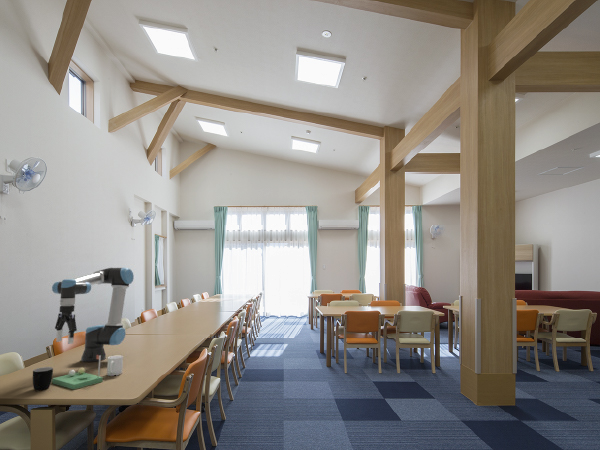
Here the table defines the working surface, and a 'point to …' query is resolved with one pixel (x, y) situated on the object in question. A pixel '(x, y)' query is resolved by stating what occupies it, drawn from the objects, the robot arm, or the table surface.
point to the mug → (42, 378)
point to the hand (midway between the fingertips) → (64, 342)
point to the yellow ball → (81, 370)
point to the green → (78, 379)
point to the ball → (71, 373)
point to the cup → (114, 365)
